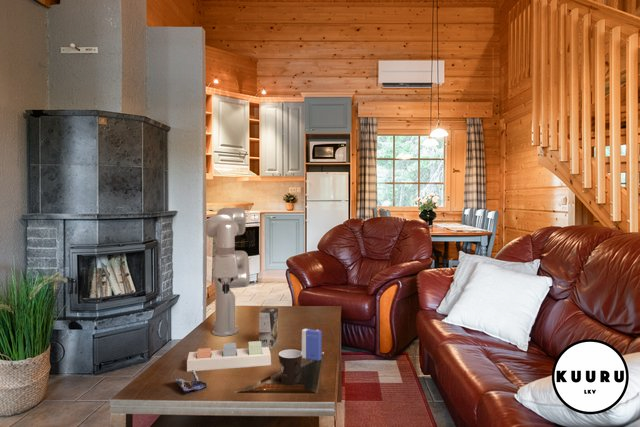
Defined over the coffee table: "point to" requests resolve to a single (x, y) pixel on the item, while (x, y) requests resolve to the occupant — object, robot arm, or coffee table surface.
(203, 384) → the snack package
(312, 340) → the walkman
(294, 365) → the coffee mug
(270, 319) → the coffee box
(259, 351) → the sage-green button
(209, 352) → the terracotta button
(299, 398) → the coffee table surface
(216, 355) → the button console
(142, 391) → the coffee table surface
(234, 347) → the slate-grey button
